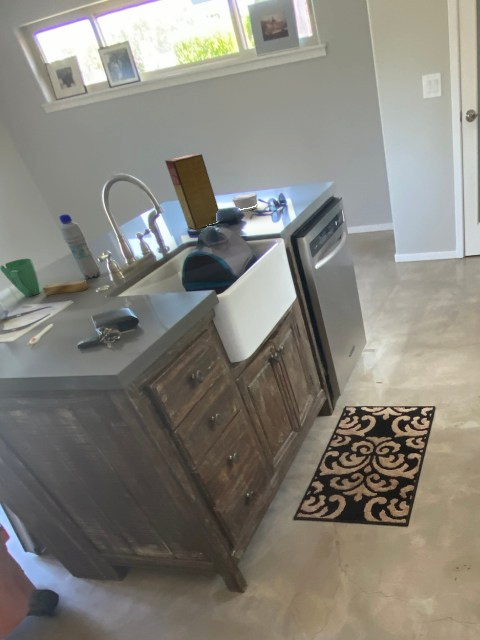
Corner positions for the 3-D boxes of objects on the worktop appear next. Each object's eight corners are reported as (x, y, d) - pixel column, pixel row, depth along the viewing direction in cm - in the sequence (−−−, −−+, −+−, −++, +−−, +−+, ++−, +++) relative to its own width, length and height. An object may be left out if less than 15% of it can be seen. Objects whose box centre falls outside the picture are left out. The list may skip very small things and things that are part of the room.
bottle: (99, 277, 184) (70, 215, 170) (81, 280, 184) (50, 218, 170) (104, 271, 189) (76, 210, 175) (86, 275, 189) (56, 213, 175)
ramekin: (237, 214, 235) (233, 200, 232) (234, 209, 243) (230, 196, 240) (261, 208, 237) (257, 195, 233) (257, 204, 245) (254, 192, 241)
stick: (46, 295, 176) (42, 288, 174) (50, 292, 178) (46, 285, 176) (84, 290, 174) (81, 283, 173) (88, 287, 177) (85, 280, 175)
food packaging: (213, 219, 232) (193, 153, 216) (223, 221, 227) (203, 153, 210) (186, 227, 227) (163, 160, 210) (196, 230, 221) (173, 160, 204)
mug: (19, 293, 181) (1, 263, 175) (48, 286, 183) (32, 256, 177) (14, 305, 171) (-5, 274, 164) (45, 298, 173) (27, 267, 166)
